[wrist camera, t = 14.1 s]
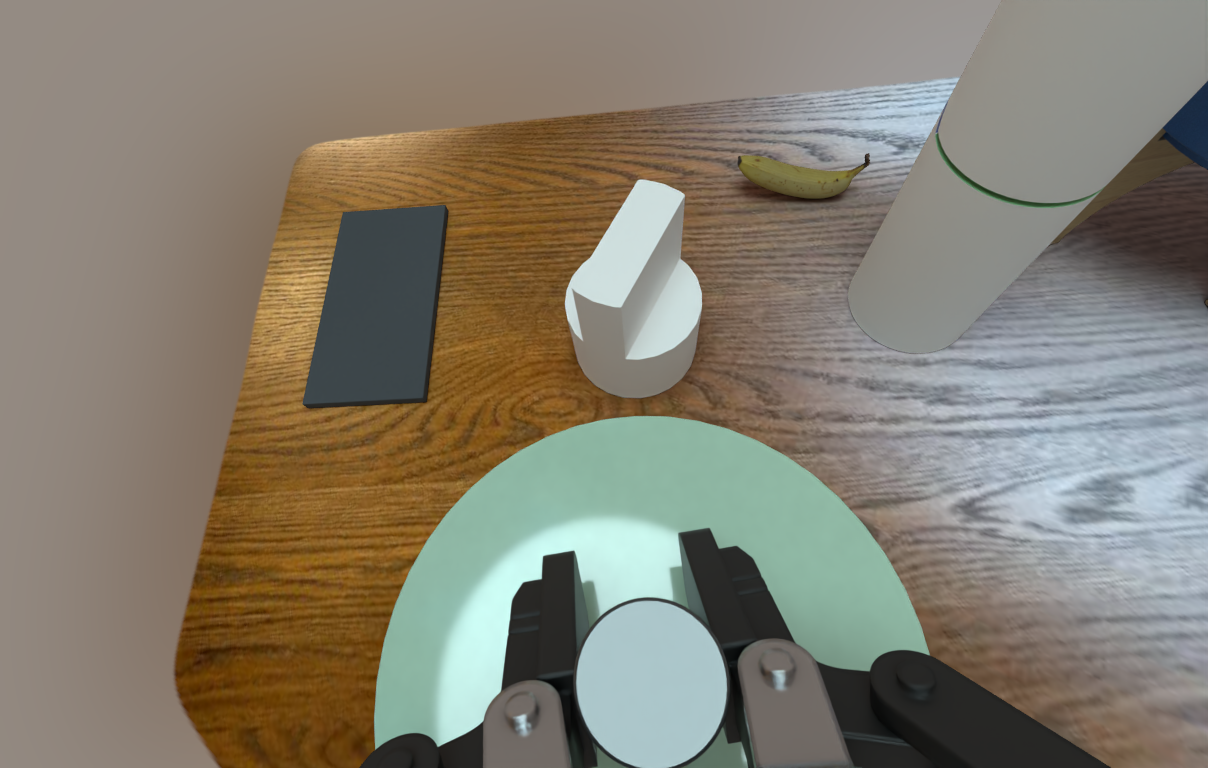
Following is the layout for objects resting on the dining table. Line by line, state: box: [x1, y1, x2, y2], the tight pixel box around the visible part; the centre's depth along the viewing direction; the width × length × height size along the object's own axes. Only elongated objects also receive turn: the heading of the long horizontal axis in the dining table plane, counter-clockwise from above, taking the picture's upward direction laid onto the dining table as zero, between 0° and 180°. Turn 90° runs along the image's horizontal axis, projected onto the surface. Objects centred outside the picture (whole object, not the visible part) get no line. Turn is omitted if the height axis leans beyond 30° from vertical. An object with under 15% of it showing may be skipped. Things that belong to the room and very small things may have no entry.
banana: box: [738, 153, 870, 199], centre depth 47 cm, size 10×2×4 cm, turn 85°
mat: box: [303, 205, 448, 408], centre depth 47 cm, size 18×9×1 cm, turn 1°
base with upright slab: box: [565, 180, 702, 398], centre depth 38 cm, size 9×9×12 cm
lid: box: [374, 416, 930, 768], centre depth 12 cm, size 14×14×7 cm
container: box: [848, 0, 1208, 353], centre depth 30 cm, size 9×9×30 cm
